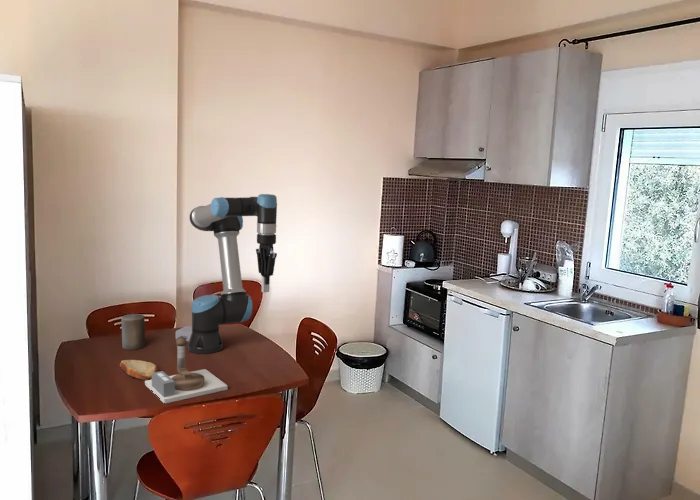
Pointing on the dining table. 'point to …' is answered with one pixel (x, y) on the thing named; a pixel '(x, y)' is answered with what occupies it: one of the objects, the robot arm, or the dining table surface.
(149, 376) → the slice of bread
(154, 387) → the stand
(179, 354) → the cam handle
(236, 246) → the robot arm
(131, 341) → the pillar candle
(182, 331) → the charger
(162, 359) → the dining table surface
